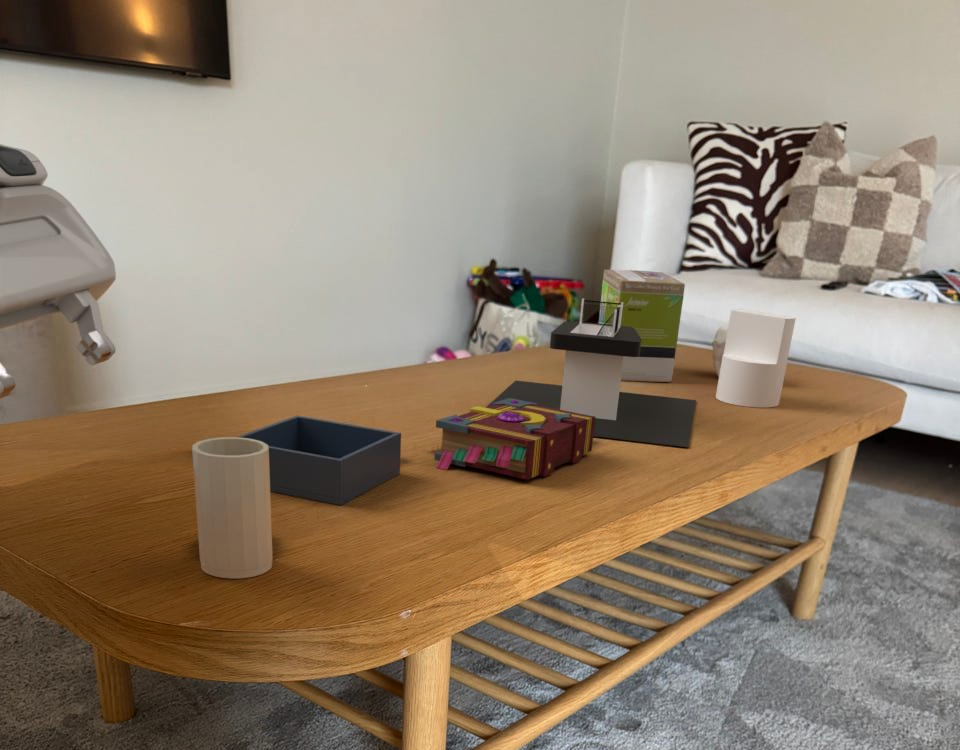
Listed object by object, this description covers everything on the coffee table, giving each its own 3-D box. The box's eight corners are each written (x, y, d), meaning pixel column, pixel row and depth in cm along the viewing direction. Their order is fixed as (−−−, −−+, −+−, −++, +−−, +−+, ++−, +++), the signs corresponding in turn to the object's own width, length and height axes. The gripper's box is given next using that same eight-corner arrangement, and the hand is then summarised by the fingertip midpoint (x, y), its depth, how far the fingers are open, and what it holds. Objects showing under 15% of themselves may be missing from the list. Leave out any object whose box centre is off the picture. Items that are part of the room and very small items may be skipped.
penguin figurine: (729, 316, 155) (800, 334, 149) (715, 369, 159) (784, 388, 154) (714, 319, 150) (787, 338, 145) (700, 373, 154) (771, 393, 149)
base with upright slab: (790, 402, 139) (807, 316, 134) (759, 410, 133) (776, 320, 128) (735, 391, 145) (750, 307, 139) (703, 397, 139) (718, 311, 133)
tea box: (592, 362, 159) (602, 267, 153) (651, 365, 160) (664, 271, 154) (608, 380, 146) (620, 277, 139) (673, 383, 147) (688, 281, 140)
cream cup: (199, 580, 68) (191, 456, 64) (201, 553, 73) (193, 436, 69) (274, 577, 70) (270, 456, 66) (271, 551, 74) (267, 437, 70)
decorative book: (594, 455, 106) (599, 410, 104) (523, 488, 93) (527, 437, 91) (505, 436, 111) (508, 393, 109) (427, 465, 98) (429, 416, 96)
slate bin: (340, 505, 85) (340, 460, 83) (229, 483, 89) (226, 439, 87) (400, 473, 95) (401, 432, 93) (297, 454, 99) (296, 415, 97)
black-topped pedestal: (688, 448, 111) (707, 329, 105) (469, 422, 116) (476, 307, 110) (695, 401, 136) (711, 302, 130) (515, 381, 141) (522, 285, 135)
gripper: (-223, 178, 52) (-50, 392, 55) (52, 151, 69) (175, 318, 71) (-255, 249, 56) (-92, 446, 59) (13, 207, 72) (132, 364, 75)
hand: (56, 375), depth 65 cm, fingers open, 8 cm apart
